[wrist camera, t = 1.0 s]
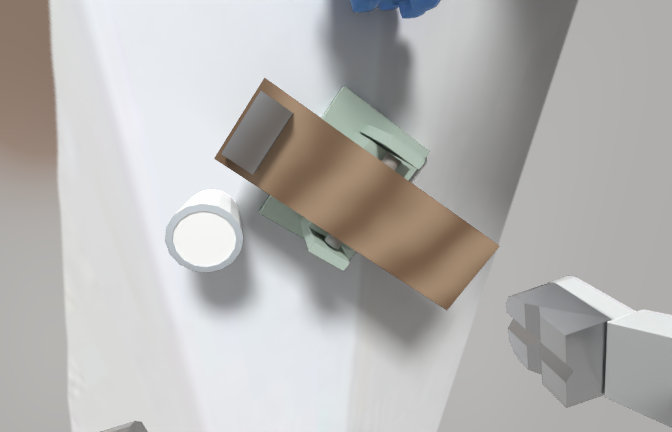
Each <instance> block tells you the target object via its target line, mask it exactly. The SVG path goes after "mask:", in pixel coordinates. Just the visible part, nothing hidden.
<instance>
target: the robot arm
mask: <svg viewBox="0 0 672 432" xmlns="http://www.w3.org/2000/svg"><path fill="white" fill-rule="evenodd" d="M506 309H507V313H508V314H509V315H510V316H511V317H513V320H512V322H511V324H510V326H509V328H508V333H509V341H510V343H511V346H512V348H513V351H514V353H515V354H516V356H517V357H518V359H519V360H520V361H521V363H522V364H523V365H524V366H525V367H526V368H527V369H528V370H531V371H534V372H537V373H539V374H542V383H543V385H544V386H545V387H546V388H547V389H548V390H549V391H550V392H551V393H552V394H553V395H554V396H555V397H556V398H557V399H558V400H559V401H560V402H561V403H562V404H563V405H564V406H565V407H566V408H567V407H570V406H573V405H576V404H579V403H582V402H585V401H588V400H591V399H594V398H597V397H600V396H602V395H605V398H608V399H610V400H612V401H614V402H616V403H619V404H621V405H623V406H626V407H627V408H630V409H632V410H634V411H636V412H639V413H641V414H643V415H645V416H647V417H650V418H652V419H654V420H656V421H659V422H660V423H663V424H665V425H667V426H669V427H672V315H669V314H664V313H659V312H654V311H649V310H644V309H643V310H640V311H637V312H636V311H635V310H633V309H631V308H629V307H627V306H626V305H624V304H622V303H621V302H619V301H617V300H615V299H614V298H612V297H610V296H608V295H606V294H605V293H603V292H601V291H600V290H598V289H596V288H594V287H593V286H591V285H589V284H587V283H585V282H584V281H582V280H580V279H578V278H577V277H574V276H565V277H562V278H559V279H557V280H554V281H551V282H549V283H548V284H545V285H541V286H539V287H536V288H533V289H530V290H527V291H524V292H521V293H518V294H515V295H512V296H509V297H508V299H507V302H506ZM101 432H147V430H146V428H145V427H144V425H143V423H142V422H139V421H133V422H130V423H127V424H124V425H120V426H117V427H114V428H111V429H107V430H104V431H101Z"/></svg>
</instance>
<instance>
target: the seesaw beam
mask: <svg viewBox="0 0 672 432" xmlns="http://www.w3.org/2000/svg"><path fill="white" fill-rule="evenodd" d="M214 159H216V160H217V161H219V162H220V163H222V164H223V165H225V166H227V167H228V168H230V169H231V170H233V171H234V172H236V173H237V174H239V175H240V176H242V177H243V178H245V179H246V180H248V181H250V182H251V183H253V184H254V185H256V186H257V187H259V188H260V189H262V190H263V191H265V192H266V193H268V194H269V195H271V196H272V197H274V198H276V199H277V200H279V201H280V202H282V203H283V204H285V205H286V206H288V207H289V208H291V209H292V210H294V211H295V212H297V213H299V214H300V215H302V216H303V217H305V218H306V219H308V220H309V221H311V222H312V223H314V224H315V225H317V226H318V227H320V228H322V229H323V230H325V231H326V232H328V233H329V234H328V235H327V237H326V238H325V241H326V242H327V243H328V244H329V245H330V246H332V247H333V248H335V249H339V247H340V246H341V245H342V243H345V244H346V245H348V246H349V247H351V248H352V249H354V250H355V251H357V252H358V253H360V254H361V255H363V256H364V257H366V258H368V259H369V260H371V261H372V262H374V263H375V264H377V265H378V266H380V267H381V268H383V269H384V270H386V271H387V272H389V273H390V274H392V275H394V276H395V277H397V278H398V279H400V280H401V281H403V282H404V283H406V284H407V285H409V286H410V287H412V288H413V289H415V290H417V291H418V292H420V293H421V294H423V295H424V296H426V297H427V298H429V299H430V300H432V301H433V302H435V303H436V304H438V305H440V306H441V307H443V308H444V309H446V310H447V309H448V308H449V307H450V306H451V305H452V303H453V302H454V301H455V300H456V299H457V297H458V296H459V295H460V294H461V292H462V291H463V290H464V289H465V288H466V286H467V285H468V284H469V283H470V281H471V280H472V279H473V278H474V277H475V275H476V274H477V273H478V272H479V271H480V269H481V268H482V267H483V266H484V264H485V263H486V262H487V261H488V260H489V258H490V257H491V256H492V255H493V254H494V252H495V251H496V250H497V249H498V247H499V245H498V244H496V243H495V242H493V241H492V240H491V239H489V238H488V237H486V236H485V235H484V234H482V233H481V232H479V231H478V230H477V229H475V228H474V227H472V226H471V225H470V224H468V223H467V222H465V221H464V220H463V219H461V218H460V217H458V216H457V215H456V214H454V213H453V212H451V211H450V210H449V209H447V208H446V207H444V206H443V205H442V204H440V203H439V202H437V201H436V200H435V199H433V198H432V197H431V196H429V195H428V194H426V193H425V192H424V191H422V190H421V189H419V188H418V187H417V186H415V185H414V184H412V183H411V182H410V181H408V180H407V179H405V178H404V177H403V176H401V175H400V174H398V173H397V172H396V169H397V168H398V166H399V165H400V164H401V161H400V160H398V159H397V158H396V157H394V156H393V155H391V154H390V153H388V152H387V153H386V154H385V156H384V157H383V159H382V160H381V161H380V160H379V159H377V158H376V157H375V156H373V155H372V154H370V153H369V152H368V151H366V150H365V149H363V148H362V147H361V146H359V145H358V144H356V143H355V142H354V141H352V140H351V139H349V138H348V137H347V136H345V135H344V134H342V133H341V132H340V131H338V130H337V129H335V128H334V127H333V126H331V125H330V124H328V123H327V122H326V121H324V120H323V119H321V118H320V117H319V116H317V115H316V114H315V113H313V112H312V111H310V110H309V109H308V108H306V107H305V106H303V105H302V104H301V103H299V102H298V101H296V100H295V99H294V98H292V97H291V96H289V95H288V94H287V93H285V92H284V91H282V90H281V89H280V88H278V87H277V86H275V85H274V84H273V83H271V82H270V81H268V80H267V79H266V78H264V80H263V81H262V83H261V84H260V86H259V88H258V89H257V91H256V92H255V94H254V96H253V97H252V99H251V100H250V102H249V104H248V105H247V107H246V108H245V110H244V112H243V113H242V115H241V117H240V118H239V120H238V121H237V123H236V125H235V126H234V128H233V129H232V131H231V133H230V134H229V136H228V137H227V139H226V141H225V142H224V144H223V145H222V147H221V149H220V150H219V152H218V153H217V155H216V157H215V158H214Z"/></svg>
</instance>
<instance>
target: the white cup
mask: <svg viewBox="0 0 672 432" xmlns="http://www.w3.org/2000/svg"><path fill="white" fill-rule="evenodd" d="M165 242H166V245H167V248H168V251H169V253H170V255H171V256H172V257H173V258H174V259H175V260H176V261H177V262H178V263H179V264H180V265H182V266H184V267H186V268H188V269H190V270H192V271H199V272H212V271H216V270H221V269H223V268H225V267H226V266H228V265H229V264H231V263H232V262H234V260H235V259H236V257H237V256H238V254H239V253H240V251H241V248H242V242H243V233H242V226H241V220H240V214H239V210H238V206H237V204H236V202H235V201H234V200H233V199H232V197H231V196H229V195H228V194H226V193H224V192H223V191H219V190H213V189H209V190H204V191H200V192H198V193H197V194H195V195H194V196H192V197H191V198H190V199H189V200H188V201H187V202H186V203H185V204H184V205H183V206H182V207H181V208H180V210H179V211H178V212H177V213H176V214H175V215H174V216H173V218H172V219H171V221H170V222H169V224H168V225H167V227H166V236H165Z"/></svg>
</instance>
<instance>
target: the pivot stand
mask: <svg viewBox="0 0 672 432" xmlns="http://www.w3.org/2000/svg"><path fill="white" fill-rule="evenodd" d="M321 119H323V120H324V121H326V122H327V123H328V124H330V125H331V126H333V127H334V128H335V129H337V130H338V131H340V132H341V133H342V134H344V135H345V136H347V137H348V138H349V139H351V140H352V141H354V142H355V143H356V144H358V145H359V146H361V147H362V148H363V149H365V150H366V151H368V152H369V153H370V154H372V155H373V156H375V157H376V158H377V159H379V160H380V161H381V160H382V159H383V157H384V156H385V154H386V153H387V152H388V153H390V154H391V155H393V156H394V157H396V158H397V159H398V160H400V161H401V164H400V165H399V166H398V168H397V169H396V172H397V173H398V174H400V175H401V176H403V177H404V178H405V179H407V180H408V181H409V179H410V178H411V177H412V175H413V174H414V173H415V171H416V170H417V169H418V170H419V169H420V168H421V166H422V165H423V164H424V162H425V161H426V160H424V159H425V158H426V156H427V155H428V154H429V152H430V151H428V150H427V149H426V148H424V147H423V146H422V145H421V144H419V143H418V142H417V141H415V140H414V139H413V138H412V137H410V136H409V135H408V134H406V133H405V132H404V131H402V130H401V129H400V128H399V127H397V126H396V125H395V124H393V123H392V122H391V121H390V120H388V119H387V118H386V117H384V116H383V115H382V114H380V113H379V112H378V111H377V110H375V109H374V108H373V107H371V106H370V105H369V104H368V103H366V102H365V101H364V100H362V99H361V98H360V97H358V96H357V95H356V94H355V93H353V92H352V91H351V90H349V89H348V88H347V87H346V86H342V88H341V89H340V91H339V92H338V94H337V95H336V97H335V98H334V100H333V101H332V103H331V104H330V106H329V107H328V109H327V110H326V112H325V113H324V115H323V116H322V118H321ZM260 214H261V215H263V216H265V217H267V218H268V219H270V220H272V221H274V222H275V223H277V224H279V225H281V226H282V227H284V228H286V229H288V230H289V231H291V232H293V233H295V234H296V235H298V236H300V237H302V238H303V239H305V241H306V244H307V247H308V251H309V252H310V253H312V254H314V255H316V256H317V257H319V258H321V259H323V260H325V261H326V262H328V263H330V264H332V265H334V266H335V267H337V268H339V269H341V270H342V271H344V270H345V269H346V267H347V266H348V265H349V263H350V262H349V260H350V259H351V258H352V256H353V255H354V254H355V252H356V251H355V250H354V249H352V248H351V247H349V246H348V245H346V244H345V243H342V245H341V246H340V247H339V249H335V248H333V247H332V246H330V245H329V244H328V243H327V242H326V241H325V238H326V237H327V235H328V234H329V233H328V232H326V231H325V230H323V229H322V228H320V227H318V226H317V225H315V224H314V223H312V222H311V221H309V220H308V219H306V218H305V217H303V216H302V215H300V214H299V213H297V212H295V211H294V210H292V209H291V208H289V207H288V206H286V205H285V204H283V203H282V202H280V201H279V200H277V199H276V198H274V197H272V196H271V195H270V196H269V197H268V199H267V200H266V202H265V203H264V205H263V206H262V208H261V209H260Z"/></svg>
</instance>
